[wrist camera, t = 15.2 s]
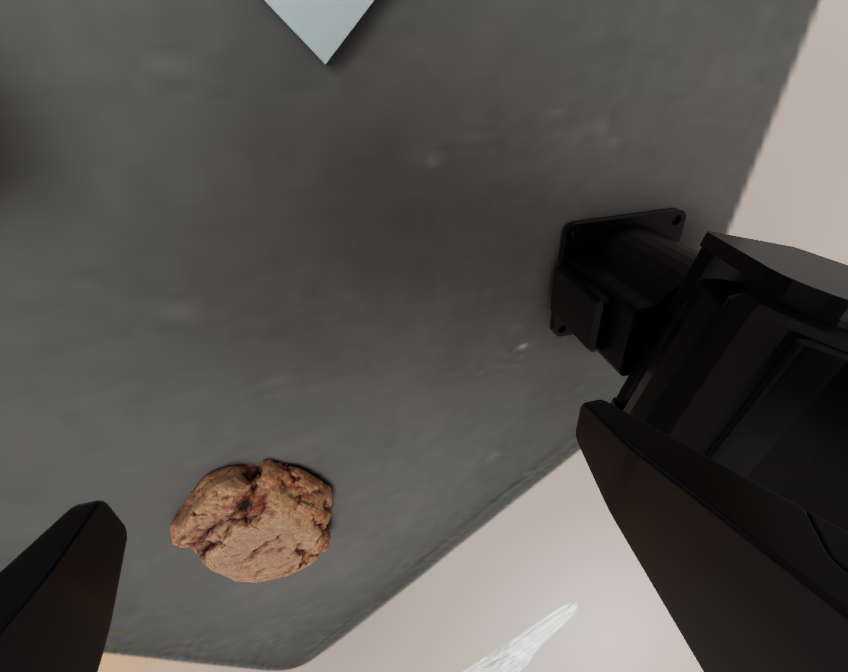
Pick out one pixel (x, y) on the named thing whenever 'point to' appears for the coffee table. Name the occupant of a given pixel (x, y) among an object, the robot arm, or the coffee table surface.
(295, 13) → the blue stand
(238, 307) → the coffee table surface
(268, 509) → the cookie
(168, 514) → the coffee table surface
